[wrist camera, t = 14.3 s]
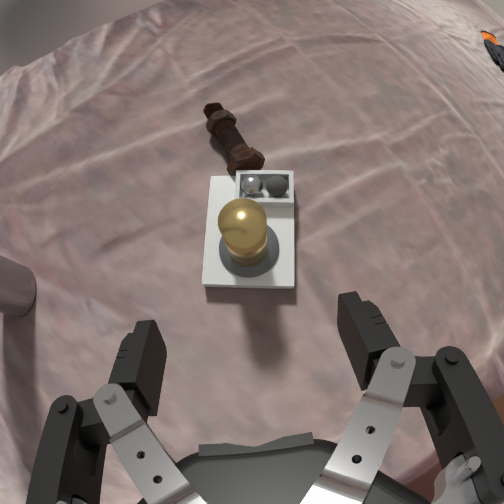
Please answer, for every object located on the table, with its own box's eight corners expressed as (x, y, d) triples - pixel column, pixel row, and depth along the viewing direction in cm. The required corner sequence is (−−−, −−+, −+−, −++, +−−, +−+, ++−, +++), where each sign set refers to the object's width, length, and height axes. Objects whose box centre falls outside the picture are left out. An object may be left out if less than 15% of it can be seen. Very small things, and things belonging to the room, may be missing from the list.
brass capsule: (228, 266, 41) (215, 243, 31) (230, 230, 42) (219, 197, 33) (266, 267, 41) (266, 244, 31) (267, 231, 42) (267, 198, 32)
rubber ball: (265, 200, 44) (265, 190, 41) (266, 181, 44) (265, 171, 42) (287, 200, 43) (288, 190, 41) (287, 182, 44) (288, 171, 41)
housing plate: (204, 286, 43) (199, 281, 39) (213, 182, 47) (209, 170, 44) (293, 288, 42) (295, 283, 38) (292, 182, 46) (293, 170, 43)
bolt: (218, 119, 53) (254, 179, 49) (193, 119, 50) (227, 182, 46) (229, 94, 49) (270, 154, 44) (203, 93, 46) (241, 155, 41)
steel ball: (241, 200, 44) (239, 190, 41) (242, 181, 45) (240, 171, 42) (262, 200, 44) (262, 190, 41) (263, 181, 44) (262, 171, 42)
